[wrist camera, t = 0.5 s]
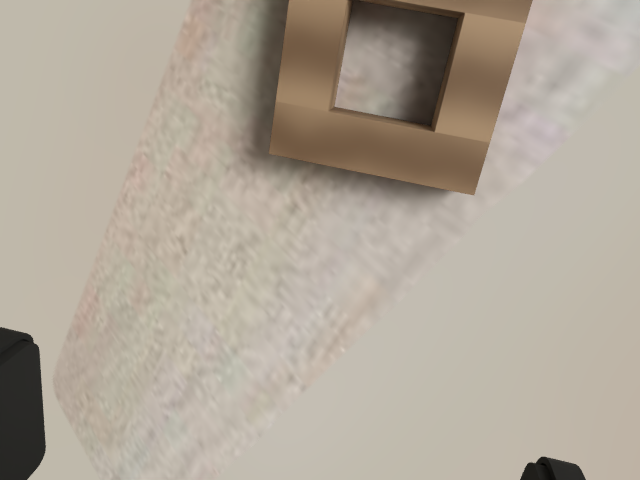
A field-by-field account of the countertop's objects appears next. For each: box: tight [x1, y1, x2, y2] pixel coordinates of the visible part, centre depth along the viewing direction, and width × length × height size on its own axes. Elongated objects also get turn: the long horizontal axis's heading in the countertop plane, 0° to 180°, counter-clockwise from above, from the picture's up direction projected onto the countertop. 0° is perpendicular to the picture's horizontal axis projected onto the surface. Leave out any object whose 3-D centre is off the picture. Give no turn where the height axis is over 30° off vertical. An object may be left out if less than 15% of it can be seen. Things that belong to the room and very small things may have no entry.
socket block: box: [269, 0, 532, 195], centre depth 31 cm, size 14×14×4 cm
